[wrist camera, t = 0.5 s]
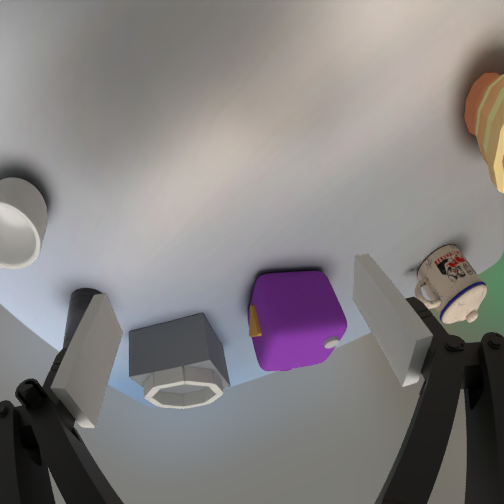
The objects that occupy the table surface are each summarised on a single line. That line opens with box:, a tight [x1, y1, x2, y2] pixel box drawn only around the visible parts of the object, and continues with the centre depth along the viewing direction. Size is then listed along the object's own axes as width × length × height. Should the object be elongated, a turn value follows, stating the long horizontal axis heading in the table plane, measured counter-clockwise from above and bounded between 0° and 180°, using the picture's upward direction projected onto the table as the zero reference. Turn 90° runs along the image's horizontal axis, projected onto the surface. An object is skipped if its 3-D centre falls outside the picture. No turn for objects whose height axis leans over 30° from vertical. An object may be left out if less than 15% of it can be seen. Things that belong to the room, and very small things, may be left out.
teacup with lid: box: [415, 245, 487, 324], centre depth 42 cm, size 12×9×12 cm
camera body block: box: [129, 313, 230, 409], centre depth 42 cm, size 10×11×9 cm
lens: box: [63, 288, 102, 348], centre depth 32 cm, size 5×5×11 cm
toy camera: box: [248, 271, 347, 371], centre depth 40 cm, size 11×14×10 cm
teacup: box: [0, 178, 48, 269], centre depth 22 cm, size 10×8×5 cm
